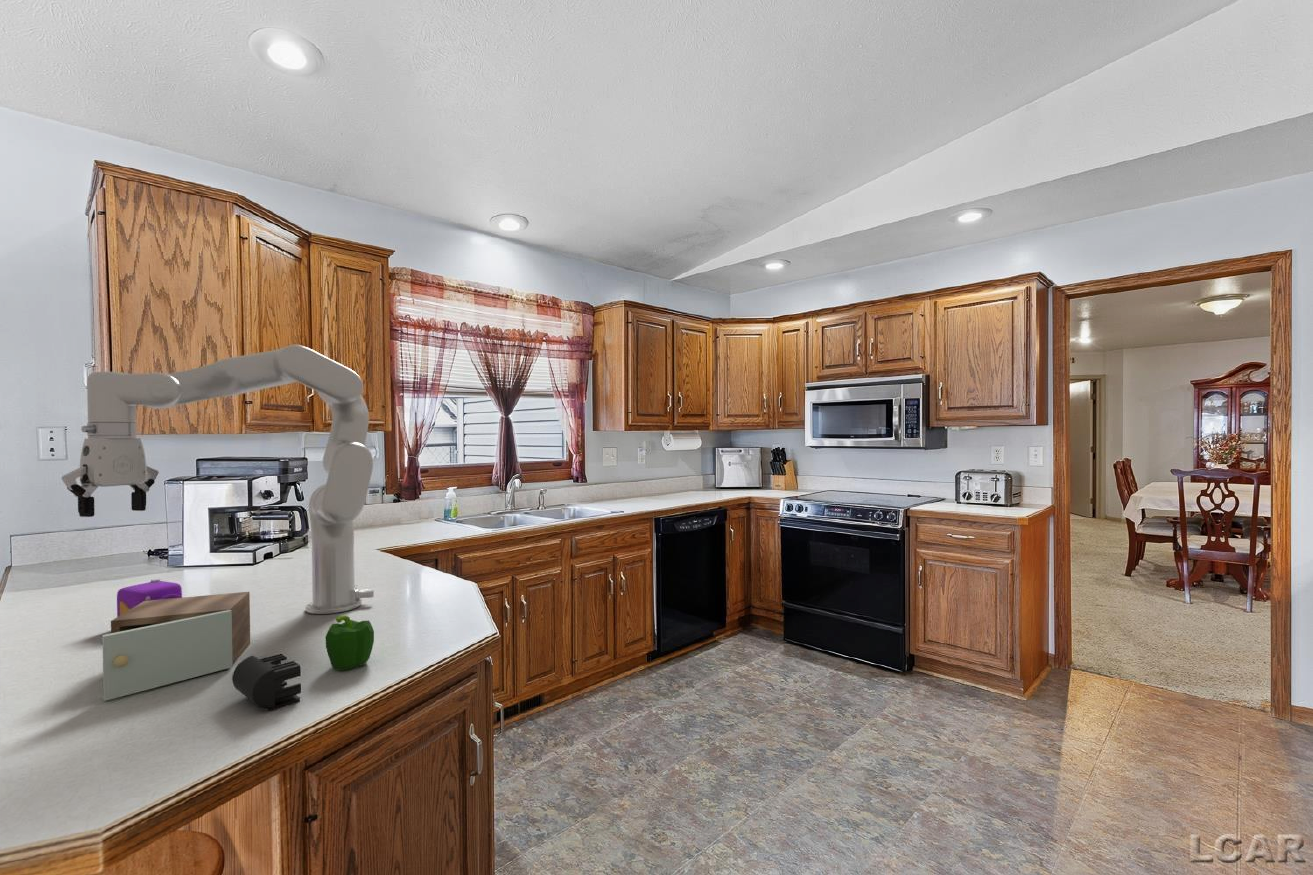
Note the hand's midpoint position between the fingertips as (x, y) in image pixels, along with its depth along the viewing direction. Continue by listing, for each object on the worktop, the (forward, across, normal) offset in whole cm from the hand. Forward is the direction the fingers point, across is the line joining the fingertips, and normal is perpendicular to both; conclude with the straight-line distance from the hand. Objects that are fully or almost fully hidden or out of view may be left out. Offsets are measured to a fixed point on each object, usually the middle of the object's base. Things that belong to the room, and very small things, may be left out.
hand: (113, 513), depth 127 cm
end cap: (+28, -14, -54) cm, 62 cm away
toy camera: (+28, +13, +7) cm, 32 cm away
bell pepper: (+28, +2, -56) cm, 63 cm away
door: (+28, -12, -32) cm, 44 cm away
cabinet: (+28, -3, -23) cm, 36 cm away
